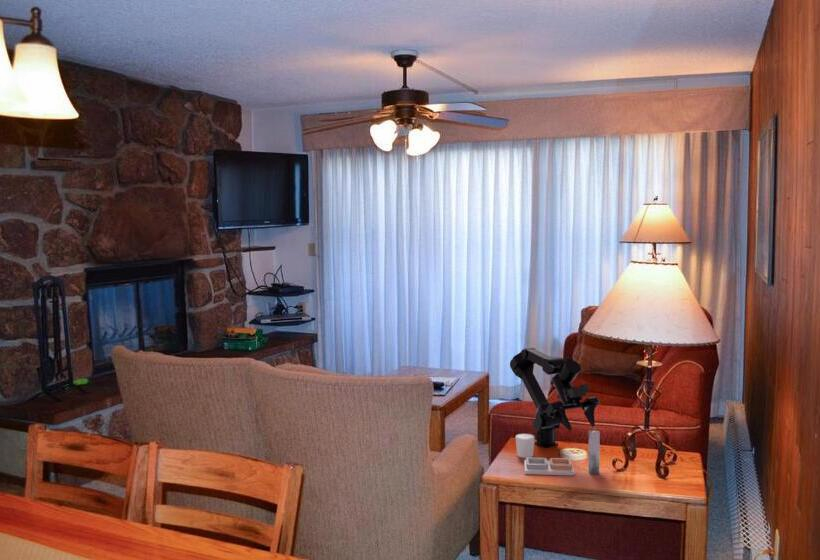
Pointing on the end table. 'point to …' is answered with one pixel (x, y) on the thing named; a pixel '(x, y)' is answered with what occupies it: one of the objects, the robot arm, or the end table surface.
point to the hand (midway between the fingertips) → (582, 428)
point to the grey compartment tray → (548, 466)
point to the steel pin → (594, 452)
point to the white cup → (525, 445)
